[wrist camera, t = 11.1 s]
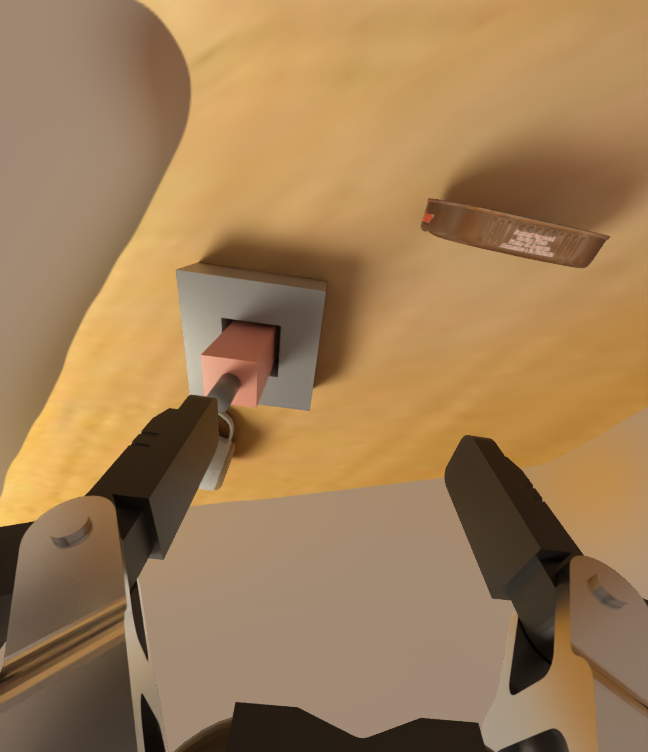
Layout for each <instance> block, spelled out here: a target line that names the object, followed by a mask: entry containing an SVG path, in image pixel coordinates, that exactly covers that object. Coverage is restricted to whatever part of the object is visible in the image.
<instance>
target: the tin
mask: <svg viewBox="0 0 648 752" xmlns="http://www.w3.org/2000/svg"><path fill="white" fill-rule="evenodd" d="M421 229H422V230H423V231H428V232H430V233H431V234H433V235H434V236H437V237H440V238H443V239H446V240H450V241H453V242H458V243H461V244H466V245H470V246H474V247H478V248H482V249H487V250H491V251H496V252H501V253H505V254H510V255H514V256H519V257H523V258H528V259H533V260H538V261H543V262H548V263H554V264H559V265H564V266H569V267H575V268H585V267H587V266H588V265H589V264H590V263H591V262H592V260H593V259H594V258H595V256H596V255H597V253H598V252H599V250H600V249H601V247H602V246H603V244H604V243H605V241H606V240H608V239H609V238H610V236H607V235H603V234H599V233H595V232H590V231H586V230H581V229H577V228H573V227H568V226H564V225H559V224H554V223H549V222H545V221H541V220H536V219H531V218H527V217H523V216H518V215H513V214H509V213H505V212H500V211H496V210H491V209H486V208H481V207H476V206H472V205H466V204H461V203H456V202H451V201H445V200H438V199H430V198H429V199H428V205H427V208H426V211H425V214H424V217H423V220H422V224H421Z"/></svg>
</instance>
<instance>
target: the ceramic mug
mask: <svg viewBox="0 0 648 752" xmlns="http://www.w3.org/2000/svg"><path fill="white" fill-rule="evenodd" d="M218 415H219V416H221V417H222V419H223V420H226V421H227V423H228V424H229V427H230V434H229V438H228V439H227V438H225V437H222V436H219V440H218V446H217V449H216V452H215V455H214V457H213V459H212V461H211V463H210V465H209V467H208V469H207V471H206V473H205V475H204V477H203V479H202V481H201V483H200V486H199V489H204V490H218V489H219V488H221V486H222V483H223V481H224V478H225V475H226V473H227V470H228V467H229V465H230V462H231V459H232V457H233V454H234V451H235V448H236V446H235V443H234V442H232V441H231V439H232V437H233V432H234V423H233V420H232V418H231V417H230V416H229V415H228V414H227V413H226V412H223V413H218Z"/></svg>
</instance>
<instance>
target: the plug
mask: <svg viewBox="0 0 648 752" xmlns="http://www.w3.org/2000/svg"><path fill="white" fill-rule="evenodd" d="M278 341H279V326H278V325H271V324H264V323H256V322H249V321H242V320H234V321H233V322H232V323H231V324H230V325H229V326H228V327H227V328H226V329H225V330H224V331H223V332H222V333H221V334H220V335H219V337H218V338H217V339H216V340H215V341H214V342H213V343H212V344H211V345H210V346H209V347H208V348H207V349H206V350H205V351H204V352H203V353H202V354H201V364H202V376H203V387H204V396H206V397H213V398H216V399H217V401H218V413H223V412H225V411H227V410H228V408H229V406H230V405H238V406H246V407H254V408H256V407H257V405H258V402H259V400H260V397H261V395H262V393H263V390H264V388H265V385H266V383H267V380H268V378H269V375H270V373H271V370H272V368H273V365H274V363H275V360H276V358H277V355H278Z"/></svg>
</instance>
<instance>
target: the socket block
mask: <svg viewBox="0 0 648 752" xmlns="http://www.w3.org/2000/svg"><path fill="white" fill-rule="evenodd" d="M176 276H177V284H178V293H179V302H180V311H181V320H182V329H183V337H184V346H185V355H186V364H187V373H188V381H189V390H190V395H199V396H204V387H203V376H202V364H201V354H202V353H203V352H204V351H205V350H206V349H207V348H208V347H209V346H210V345H211V344H212V343H213V342H214V341H215V340H216V339H217V338H218V337H219V335H220V334H221V333H222V332H223V331H224V330H225V329H226V328H227V327H228V326H229V325H230V324H231V323H232V322H233V321H234V320H242V321H249V322H256V323H264V324H271V325H278V326H279V341H278V355H277V358H276V360H275V363H274V365H273V368H272V370H271V373H270V375H269V378H268V380H267V383H266V385H265V388H264V390H263V393H262V395H261V397H260V400H259V402H258V404H259V405H267V406H275V407H282V408H290V409H298V410H306V411H310V406H311V398H312V391H313V384H314V376H315V369H316V362H317V354H318V347H319V340H320V332H321V325H322V318H323V310H324V303H325V296H326V287H327V281H322V280H316V279H309V278H302V277H295V276H288V275H281V274H274V273H268V272H261V271H254V270H247V269H240V268H233V267H226V266H220V265H213V264H206V263H199V262H198V263H195V264H192V265H189V266H186V267H183V268H180V269H177V270H176Z"/></svg>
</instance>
